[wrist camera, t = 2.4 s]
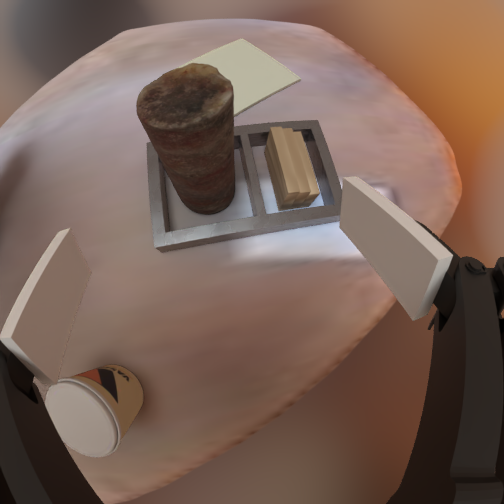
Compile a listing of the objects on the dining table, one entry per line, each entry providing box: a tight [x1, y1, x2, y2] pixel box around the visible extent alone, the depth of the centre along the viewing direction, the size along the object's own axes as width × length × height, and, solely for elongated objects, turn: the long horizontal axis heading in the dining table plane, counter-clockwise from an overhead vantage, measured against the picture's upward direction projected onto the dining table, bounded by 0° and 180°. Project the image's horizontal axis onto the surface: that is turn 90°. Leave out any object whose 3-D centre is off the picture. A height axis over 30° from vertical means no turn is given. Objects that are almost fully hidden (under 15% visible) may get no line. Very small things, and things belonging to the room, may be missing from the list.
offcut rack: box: [147, 120, 342, 252], centre depth 34 cm, size 24×14×4 cm, turn 101°
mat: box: [176, 39, 301, 117], centre depth 39 cm, size 16×16×1 cm
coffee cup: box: [45, 365, 144, 457], centre depth 24 cm, size 9×9×12 cm
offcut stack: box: [264, 127, 320, 211], centre depth 33 cm, size 4×9×6 cm, turn 11°
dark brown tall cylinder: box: [136, 63, 235, 214], centre depth 25 cm, size 8×7×20 cm
